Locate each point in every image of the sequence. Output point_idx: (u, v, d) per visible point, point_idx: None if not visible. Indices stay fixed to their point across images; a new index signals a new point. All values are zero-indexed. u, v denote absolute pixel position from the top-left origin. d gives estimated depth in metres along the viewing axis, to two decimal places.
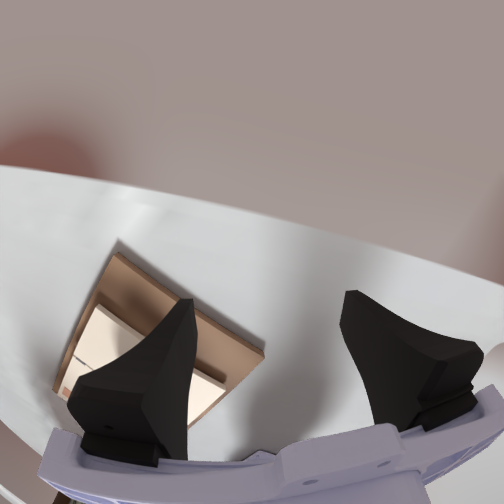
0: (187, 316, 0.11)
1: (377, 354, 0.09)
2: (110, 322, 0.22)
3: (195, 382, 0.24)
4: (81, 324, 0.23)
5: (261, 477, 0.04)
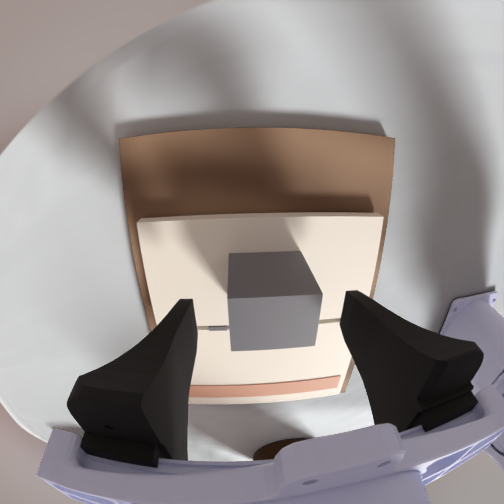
0: (187, 316, 0.11)
1: (377, 354, 0.09)
2: (168, 226, 0.15)
3: (338, 230, 0.15)
4: (140, 274, 0.17)
5: (261, 477, 0.04)
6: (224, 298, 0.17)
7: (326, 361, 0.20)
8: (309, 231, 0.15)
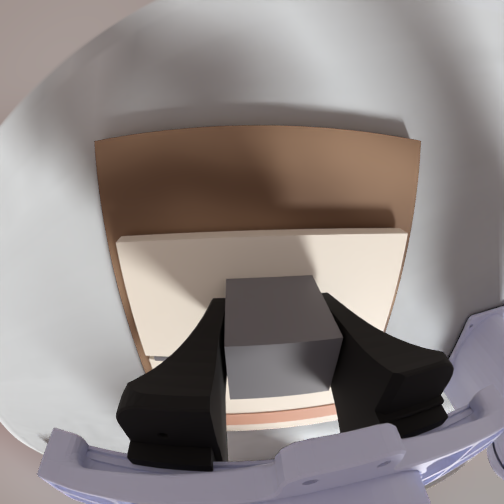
0: None
1: (341, 360, 0.09)
2: (152, 247, 0.12)
3: (357, 250, 0.13)
4: (125, 299, 0.14)
5: (261, 477, 0.04)
6: None
7: None
8: (322, 252, 0.13)
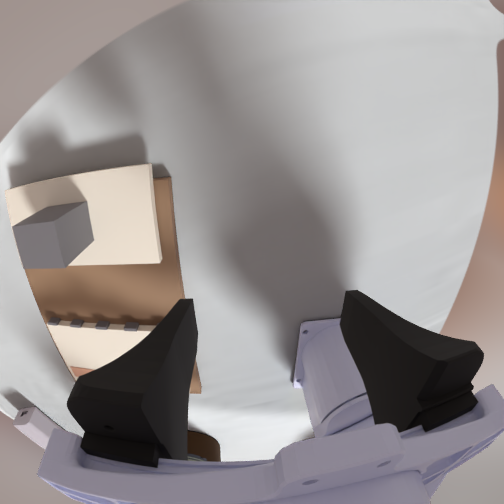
0: (187, 316, 0.11)
1: (377, 354, 0.09)
2: (17, 191, 0.16)
3: (111, 181, 0.17)
4: (32, 286, 0.21)
5: (261, 477, 0.04)
6: None
7: None
8: (89, 184, 0.17)
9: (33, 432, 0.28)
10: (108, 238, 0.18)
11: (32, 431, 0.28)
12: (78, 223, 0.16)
